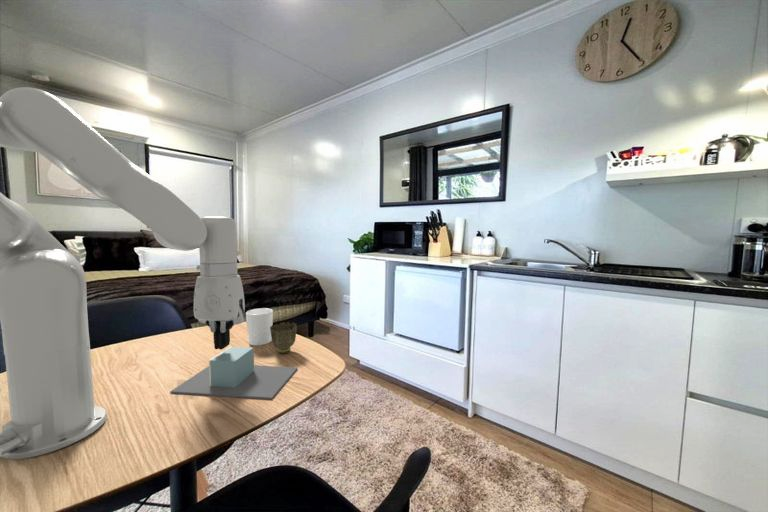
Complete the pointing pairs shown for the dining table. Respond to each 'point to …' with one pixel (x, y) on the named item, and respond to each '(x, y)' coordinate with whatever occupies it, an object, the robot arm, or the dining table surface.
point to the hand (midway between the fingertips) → (222, 346)
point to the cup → (283, 336)
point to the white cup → (259, 326)
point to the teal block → (231, 366)
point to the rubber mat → (256, 385)
